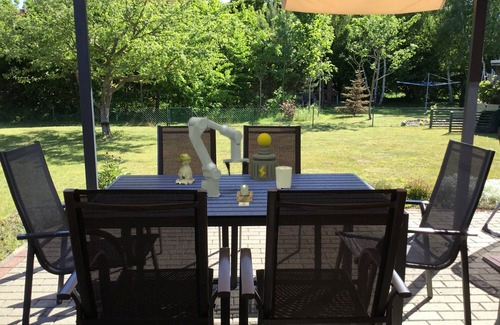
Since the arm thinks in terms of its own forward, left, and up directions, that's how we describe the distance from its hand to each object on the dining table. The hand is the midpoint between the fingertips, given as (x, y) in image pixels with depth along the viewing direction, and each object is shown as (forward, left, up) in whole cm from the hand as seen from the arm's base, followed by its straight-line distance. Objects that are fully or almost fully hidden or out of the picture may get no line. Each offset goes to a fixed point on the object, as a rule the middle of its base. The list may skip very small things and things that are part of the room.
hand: (236, 175), depth 236 cm
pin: (+5, -21, -10) cm, 23 cm away
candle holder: (+27, +10, -10) cm, 31 cm away
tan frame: (+5, -17, -9) cm, 20 cm away
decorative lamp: (+16, +40, -10) cm, 44 cm away
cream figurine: (-35, +27, -10) cm, 45 cm away
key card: (+5, -29, -10) cm, 31 cm away
